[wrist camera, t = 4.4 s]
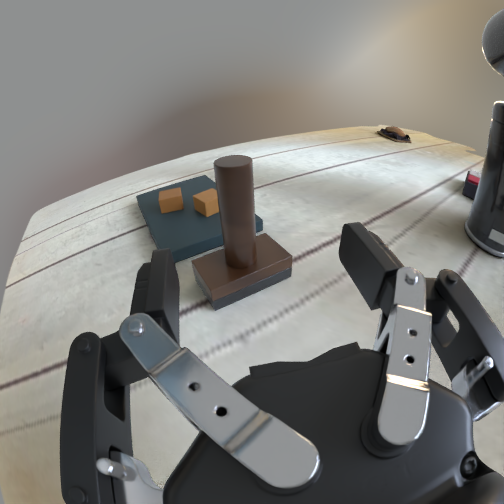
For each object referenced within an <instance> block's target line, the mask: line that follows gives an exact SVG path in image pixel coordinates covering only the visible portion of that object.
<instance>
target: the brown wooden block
mask: <svg viewBox="0 0 504 504" xmlns="http://www.w3.org/2000/svg"><path fill="white" fill-rule="evenodd" d="M193 201H194V207H195V210H197V211H198V212H200V213H201V214H203V215H204V216H206V217H209V216H211V215H213V214H215V213H218V212H219V206H218V197H217V190H215V189H213V188H211V189H209V190H206V191H203V192H201V193H198V194H196V195H193Z"/></svg>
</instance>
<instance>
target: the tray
mask: <svg viewBox="0 0 504 504" xmlns="http://www.w3.org/2000/svg"><path fill="white" fill-rule="evenodd" d="M179 187H180V188H181V193H182V199H183V208H184V209H182V210H177V211H172V212H167V213H163V214H162V213H161V209H160V205H159V192H160V191H164V190H169V189H174V188H179ZM211 188H213V189H215V190H217V189H216V183H215V182H213V181H212V180H211V179H210V178H208V177H207V176H206V175H203V176H200V177H196V178H193V179H189V180H186V181H182V182H179V183H175V184H172V185H169V186H166V187H162V188H159V189H156V190H153V191H150V192H147V193H144V194H141V195H138V196H136V197H137V201H138V205H139V207H140V209H141V212H142V214H143V216H144V219H145V221H146V223H147V226H148V228H149V230H150V232H151V235H152V237H153V239H154V241H155V244H156V246H157V248H158V250H159V249H166V248H170V250H171V252H172V256H173V260H174V263H176V262H178V261H181V260H184V259H186V258H189V257H191V256H194V255H197V254H199V253H202V252H205V251H207V250H210V249H213V248H216V247H218V246H221V245H223V237H222V229H221V222H220V214H219V212H218V213H215V214H213V215H211V216H209V217H206V216H204V215H203V214H201V213H200V212H198V211H197V210H195V207H194V201H193V195H196V194H198V193H201V192H203V191H206V190H209V189H211ZM255 225H256V232H259V231H262V230H263V220H262V219H261V218H260V217H259V216H257V215H256V214H255Z"/></svg>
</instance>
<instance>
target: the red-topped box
mask: <svg viewBox="0 0 504 504" xmlns="http://www.w3.org/2000/svg"><path fill="white" fill-rule="evenodd" d="M480 177H481V173H479V172H476V171H474V170H470V171H468V174H467V177H466V180H465V184H464V189H463V195H465V196H468V197H470V198H472V199H474V198H475V195H476V191H477V188H478V184H479V180H480Z"/></svg>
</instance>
